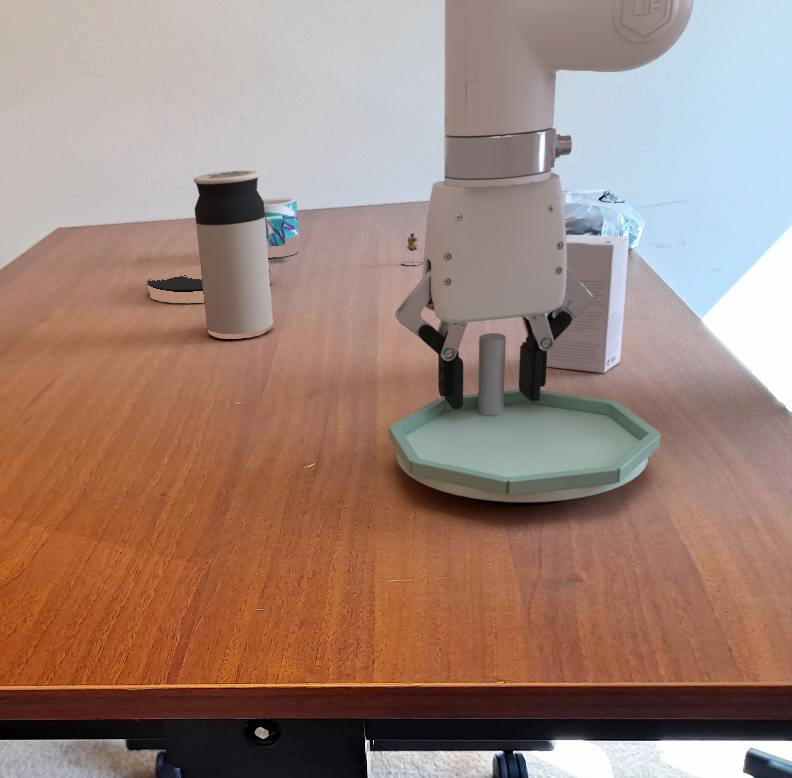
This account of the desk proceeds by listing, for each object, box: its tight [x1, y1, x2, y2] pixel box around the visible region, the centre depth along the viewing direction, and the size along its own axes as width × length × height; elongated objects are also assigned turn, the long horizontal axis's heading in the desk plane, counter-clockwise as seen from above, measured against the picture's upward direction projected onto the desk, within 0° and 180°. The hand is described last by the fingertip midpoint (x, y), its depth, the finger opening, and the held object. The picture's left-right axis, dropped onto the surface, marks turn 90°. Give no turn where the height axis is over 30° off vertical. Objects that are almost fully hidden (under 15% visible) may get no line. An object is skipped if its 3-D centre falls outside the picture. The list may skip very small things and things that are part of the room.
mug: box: [262, 197, 299, 247], centre depth 158 cm, size 8×12×8 cm
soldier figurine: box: [405, 232, 418, 251], centre depth 144 cm, size 2×1×4 cm, turn 47°
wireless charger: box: [146, 269, 271, 292], centre depth 141 cm, size 18×18×2 cm
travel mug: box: [193, 170, 274, 334], centre depth 114 cm, size 8×8×18 cm
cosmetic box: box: [546, 234, 630, 374], centre depth 92 cm, size 6×4×12 cm
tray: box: [388, 332, 662, 502], centre depth 71 cm, size 18×18×7 cm
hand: (491, 397), depth 78 cm, fingers open, 5 cm apart
